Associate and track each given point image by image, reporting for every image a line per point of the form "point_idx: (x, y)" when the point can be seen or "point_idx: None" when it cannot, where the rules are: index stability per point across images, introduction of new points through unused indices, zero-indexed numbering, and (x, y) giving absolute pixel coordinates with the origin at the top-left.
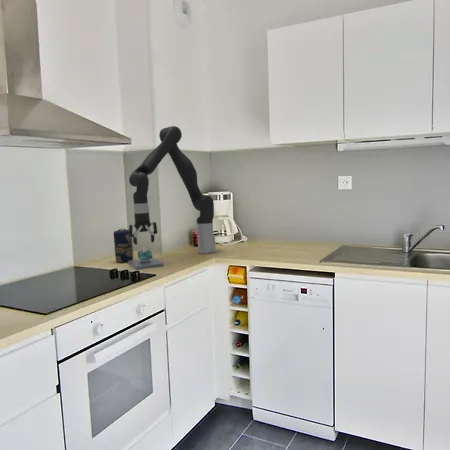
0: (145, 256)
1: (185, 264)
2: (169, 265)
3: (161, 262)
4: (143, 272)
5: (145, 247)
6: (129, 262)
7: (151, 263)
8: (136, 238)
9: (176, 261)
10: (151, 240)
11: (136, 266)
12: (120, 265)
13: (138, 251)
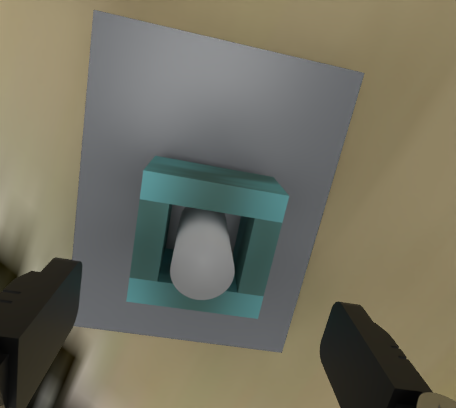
0: None
1: None
2: (313, 348)
3: (283, 324)
4: (89, 403)
5: (221, 271)
6: (87, 91)
7: None
8: (21, 404)
9: (427, 272)
10: (338, 343)
11: None
12: (14, 31)
13: (150, 187)
